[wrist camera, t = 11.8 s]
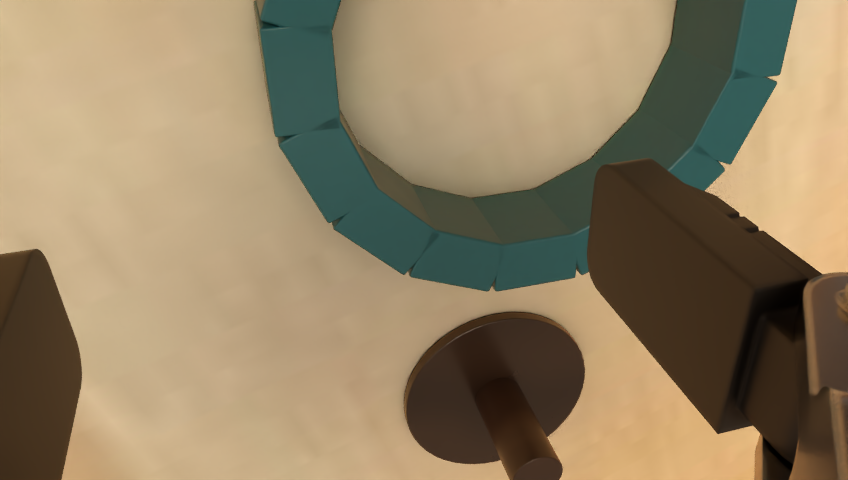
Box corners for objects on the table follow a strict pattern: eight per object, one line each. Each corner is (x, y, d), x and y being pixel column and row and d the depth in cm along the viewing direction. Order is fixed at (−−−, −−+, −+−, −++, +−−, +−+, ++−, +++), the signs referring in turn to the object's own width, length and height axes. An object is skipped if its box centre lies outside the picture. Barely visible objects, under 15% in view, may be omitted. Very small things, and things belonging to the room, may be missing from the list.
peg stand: (399, 330, 28) (431, 420, 24) (587, 296, 29) (649, 375, 25) (407, 472, 32) (436, 569, 28) (573, 435, 33) (624, 523, 29)
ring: (212, -269, 17) (211, -288, 14) (772, -276, 20) (865, -293, 17) (293, 268, 25) (303, 326, 22) (686, 205, 28) (741, 250, 25)
